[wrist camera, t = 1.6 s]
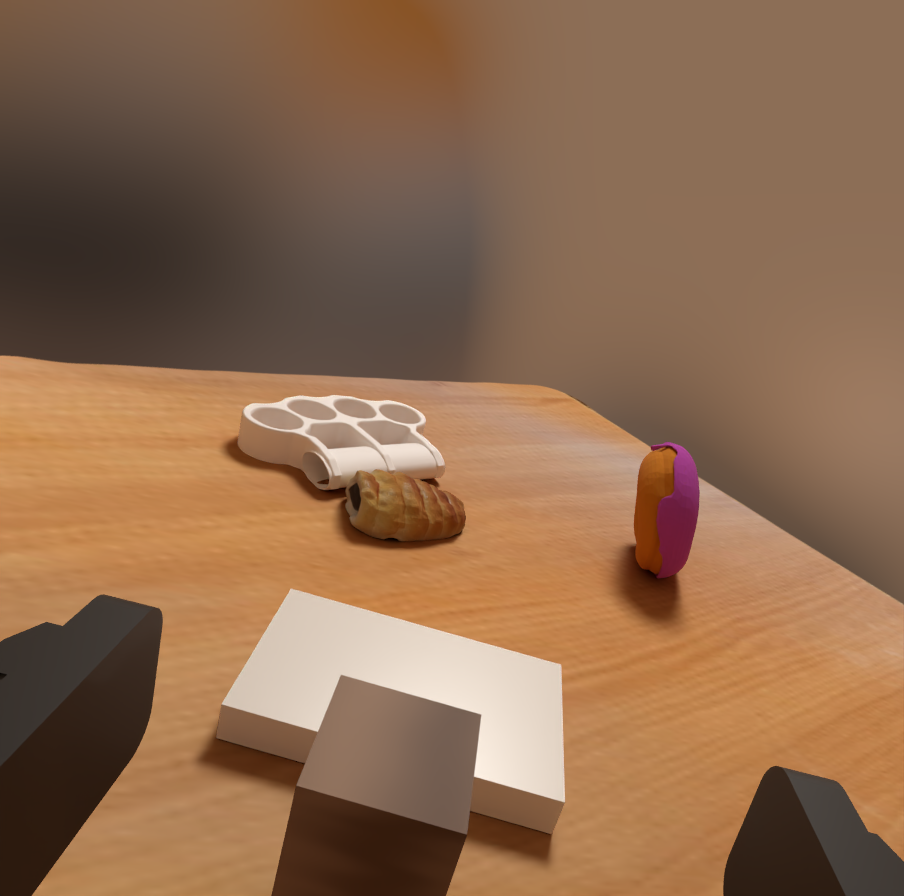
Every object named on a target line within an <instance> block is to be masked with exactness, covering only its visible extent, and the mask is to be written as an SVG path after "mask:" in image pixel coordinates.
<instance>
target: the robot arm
mask: <svg viewBox="0 0 904 896" xmlns="http://www.w3.org/2000/svg"><path fill="white" fill-rule="evenodd" d="M162 623H163V617H162V612H161V610H160V609H159V608H155V607H152V606H148V605H144V604H140V603H136V602H132V601H128V600H124V599H120V598H116V597H112V596H108V595H99V596H97V597H96V598H95V599H93V600H92V601H91V602H90V603H89V604H88V605H86V606H85V607H84V608H83V609H82V610H81V611H80V612H78V613H77V614H76V615H75V616H74V617H73V618H72V619H70V620H69V621H68V622H67V623H66V624H65V625H64V626H60V625H56V624H52V623H48V622H45V623H43V624H40V625H38V626H35V627H33V628H31V629H28V630H26V631H23V632H21V633H18V634H16V635H13V636H11V637H9V638H6V639H4V640H2V641H1V642H0V896H32V894H33V893H34V892H35V890H36V889H37V887H38V886H39V885H40V883H41V882H42V881H43V879H44V878H45V876H46V875H47V874H48V872H49V871H50V870H51V868H52V867H53V866H54V864H55V863H56V861H57V860H58V859H59V857H60V856H61V855H62V853H63V852H64V850H65V849H66V848H67V846H68V845H69V844H70V842H71V841H72V840H73V838H74V837H75V835H76V834H77V833H78V831H79V830H80V829H81V827H82V826H83V824H84V823H85V822H86V820H87V819H88V818H89V816H90V815H91V813H92V812H93V811H94V809H95V808H96V807H97V805H98V804H99V803H100V801H101V800H102V798H103V797H104V796H105V794H106V793H107V792H108V790H109V789H110V787H111V786H112V785H113V783H114V782H115V781H116V779H117V778H118V777H119V775H120V774H121V772H122V771H123V770H124V768H125V767H126V766H127V764H128V763H129V761H130V760H131V759H132V757H133V756H134V754H135V752H136V750H137V748H138V746H139V745H140V742H141V740H142V738H143V735H144V733H145V730H146V727H147V725H148V721H149V718H150V714H151V709H152V702H153V694H154V687H155V679H156V671H157V663H158V656H159V648H160V640H161V632H162ZM723 895H724V896H904V862H903V861H902V860H901V858H900V857H899V856H898V855H897V854H896V853H895V852H894V851H893V850H892V849H891V848H890V847H889V846H888V845H887V844H886V843H885V842H884V841H883V840H882V839H881V838H880V837H879V836H878V835H877V834H873V833H870V832H868V831H867V829H866V827H865V825H864V823H863V822H862V820H861V818H860V816H859V815H858V813H857V811H856V809H855V808H854V806H853V804H852V802H851V801H850V799H849V797H848V795H847V794H846V792H845V790H844V789H843V787H842V786H841V785H840V784H839V783H838V782H836V781H834V780H830V779H826V778H822V777H818V776H814V775H811V774H807V773H803V772H799V771H795V770H791V769H787V768H783V767H779V766H773V767H771V768H770V769H769V770H767V771H766V773H765V774H764V776H763V778H762V780H761V782H760V784H759V787H758V789H757V791H756V794H755V796H754V798H753V801H752V803H751V805H750V808H749V810H748V812H747V815H746V817H745V819H744V822H743V824H742V826H741V829H740V831H739V833H738V836H737V838H736V840H735V843H734V845H733V847H732V850H731V852H730V854H729V857H728V860H727V864H726V868H725V874H724V886H723Z"/></svg>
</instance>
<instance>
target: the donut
mask: <svg viewBox="0 0 904 896" xmlns="http://www.w3.org/2000/svg"><path fill="white" fill-rule="evenodd" d="M659 448H661V449H660V450H658V451H654V450H657V449H659ZM651 450H652V452H650V453H649V454H648V455H647V456H646V457H645V458H644V459H643V461H642V463H641V466H640V469H639V475H638V484H637V497H636V506H635V515H634V533H635V538H636V542H637V544H636V549H635V554H636V560H637V562H638V564H639V566H640V567H641V568H642V569H645V570H650V571H651V572H653V573H655V576H656V578H666V577H669V576H672V575H674V574H676V573H677V572H679V571H680V570H681V569H682V568H683V566H684V565H685V563H686V561H687V559H688V556H689V552H690V549H691V545H692V541H693V537H694V533H695V529H696V524H697V518H698V510H699V493H700V492H699V481H698V475H697V470H696V466H695V463H694V461H693V458H692V457H691V455H690V454H689V453H688V452H687V450H685V449H684V448H683V447H681V446H679V445H677V444H673V443H670V442H666V443H664V444H661V445H653V446H651Z"/></svg>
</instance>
